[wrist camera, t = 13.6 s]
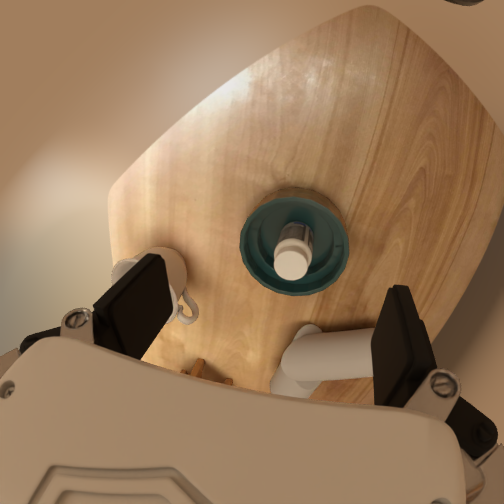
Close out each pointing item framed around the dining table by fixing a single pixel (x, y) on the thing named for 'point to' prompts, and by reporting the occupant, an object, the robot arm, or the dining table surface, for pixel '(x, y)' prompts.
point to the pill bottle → (293, 251)
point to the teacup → (175, 278)
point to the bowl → (268, 232)
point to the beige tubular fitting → (322, 360)
